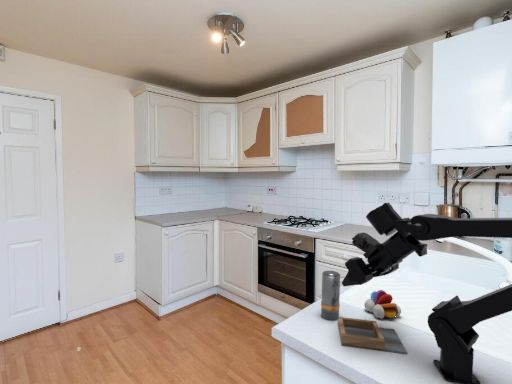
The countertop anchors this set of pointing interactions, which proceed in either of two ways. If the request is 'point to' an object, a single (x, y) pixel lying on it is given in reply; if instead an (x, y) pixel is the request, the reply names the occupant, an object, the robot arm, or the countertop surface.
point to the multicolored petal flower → (382, 305)
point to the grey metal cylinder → (330, 295)
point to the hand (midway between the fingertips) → (352, 281)
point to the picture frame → (368, 335)
